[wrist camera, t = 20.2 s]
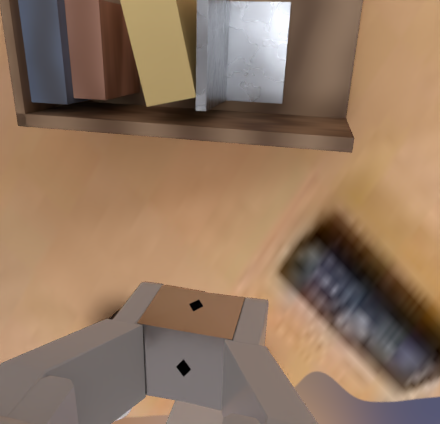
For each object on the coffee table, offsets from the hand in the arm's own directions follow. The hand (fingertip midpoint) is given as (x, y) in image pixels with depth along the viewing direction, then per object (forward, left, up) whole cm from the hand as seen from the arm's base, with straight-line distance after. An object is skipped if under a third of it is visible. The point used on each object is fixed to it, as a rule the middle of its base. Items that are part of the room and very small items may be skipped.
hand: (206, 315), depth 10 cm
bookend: (-4, +5, -30) cm, 31 cm away
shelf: (-8, +5, -31) cm, 33 cm away
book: (-9, +6, -30) cm, 32 cm away
